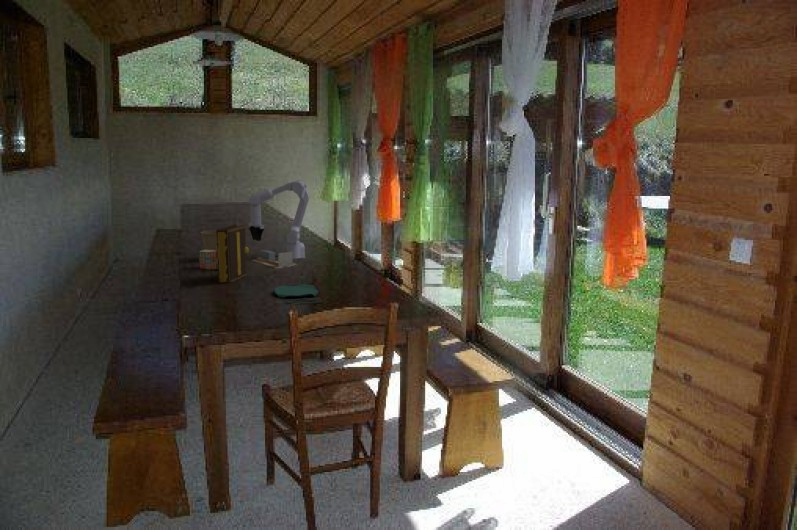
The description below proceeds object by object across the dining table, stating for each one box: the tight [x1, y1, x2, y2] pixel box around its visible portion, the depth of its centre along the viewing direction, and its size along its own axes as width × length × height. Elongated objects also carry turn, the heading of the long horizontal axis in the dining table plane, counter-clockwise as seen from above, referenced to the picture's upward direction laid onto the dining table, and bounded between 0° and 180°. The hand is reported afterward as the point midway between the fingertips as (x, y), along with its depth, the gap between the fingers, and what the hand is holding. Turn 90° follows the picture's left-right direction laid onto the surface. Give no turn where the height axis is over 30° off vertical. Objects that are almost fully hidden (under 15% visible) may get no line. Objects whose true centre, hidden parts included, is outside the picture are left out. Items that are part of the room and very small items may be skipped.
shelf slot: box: [251, 251, 299, 269], centre depth 346 cm, size 14×26×8 cm, turn 40°
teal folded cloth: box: [272, 283, 323, 306], centre depth 275 cm, size 20×30×2 cm, turn 17°
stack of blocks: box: [198, 246, 218, 270], centre depth 331 cm, size 21×6×12 cm, turn 84°
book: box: [216, 224, 250, 284], centre depth 307 cm, size 22×8×25 cm, turn 168°
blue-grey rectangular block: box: [259, 249, 276, 261], centre depth 352 cm, size 4×10×5 cm, turn 40°
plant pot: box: [200, 229, 217, 250], centre depth 353 cm, size 15×15×16 cm
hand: (256, 240), depth 359 cm, fingers open, 4 cm apart
